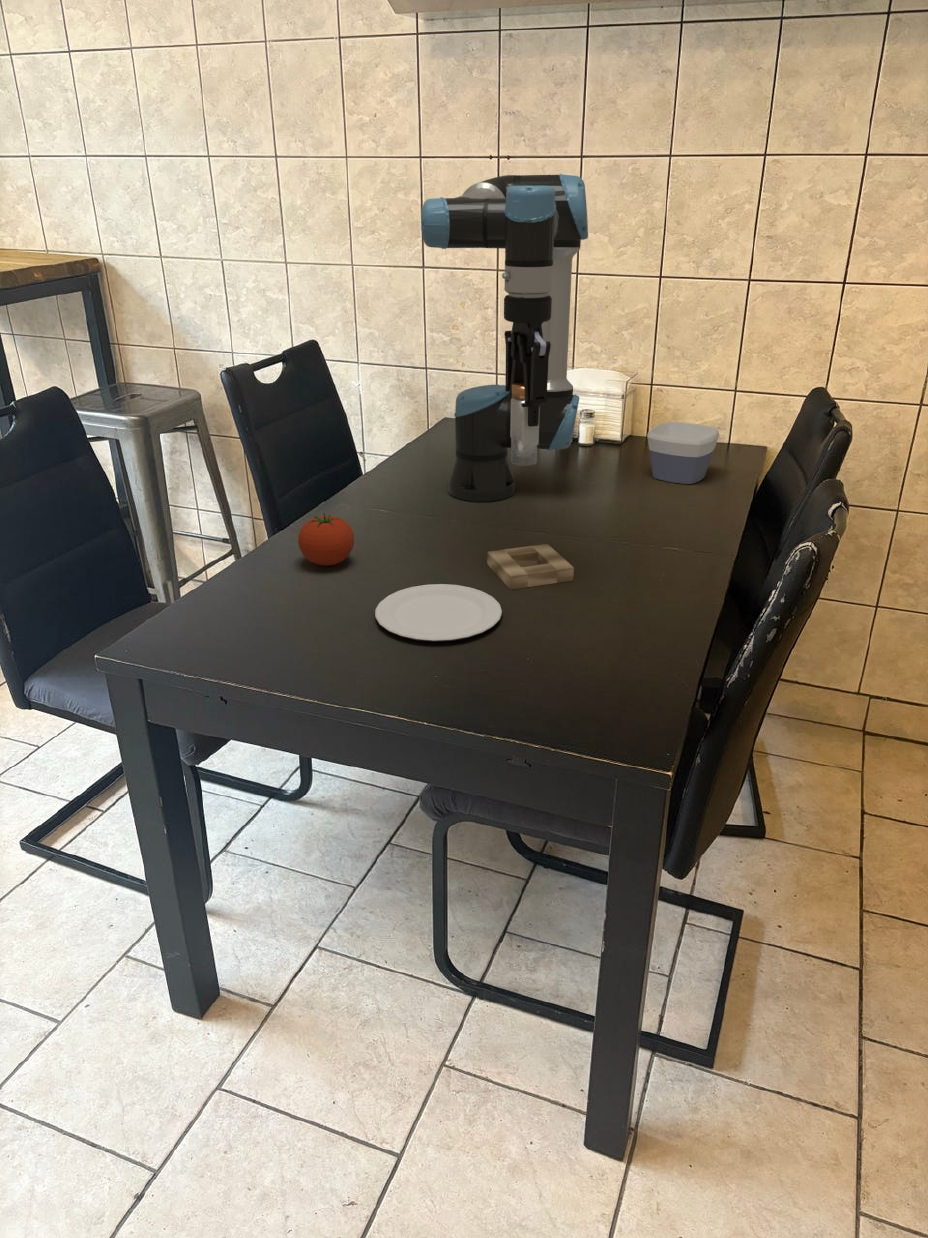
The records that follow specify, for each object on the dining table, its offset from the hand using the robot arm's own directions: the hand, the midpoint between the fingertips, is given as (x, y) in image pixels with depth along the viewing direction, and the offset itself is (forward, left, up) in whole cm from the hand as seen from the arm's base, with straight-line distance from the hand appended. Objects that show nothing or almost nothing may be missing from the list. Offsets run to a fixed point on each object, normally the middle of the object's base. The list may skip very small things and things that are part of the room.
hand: (524, 440), depth 153 cm
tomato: (-17, -32, -25) cm, 44 cm away
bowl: (-42, +57, -25) cm, 76 cm away
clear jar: (0, 0, -4) cm, 4 cm away
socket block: (-1, +2, -25) cm, 25 cm away
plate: (+11, -19, -26) cm, 33 cm away
